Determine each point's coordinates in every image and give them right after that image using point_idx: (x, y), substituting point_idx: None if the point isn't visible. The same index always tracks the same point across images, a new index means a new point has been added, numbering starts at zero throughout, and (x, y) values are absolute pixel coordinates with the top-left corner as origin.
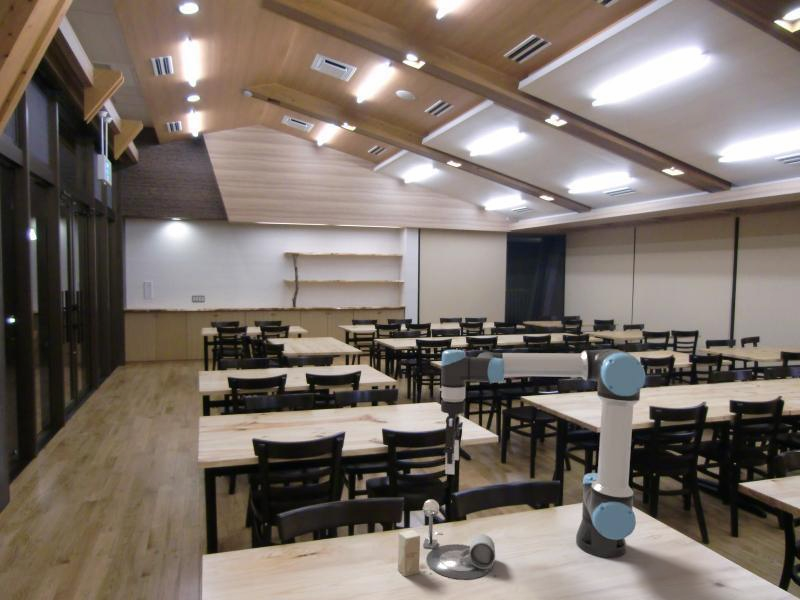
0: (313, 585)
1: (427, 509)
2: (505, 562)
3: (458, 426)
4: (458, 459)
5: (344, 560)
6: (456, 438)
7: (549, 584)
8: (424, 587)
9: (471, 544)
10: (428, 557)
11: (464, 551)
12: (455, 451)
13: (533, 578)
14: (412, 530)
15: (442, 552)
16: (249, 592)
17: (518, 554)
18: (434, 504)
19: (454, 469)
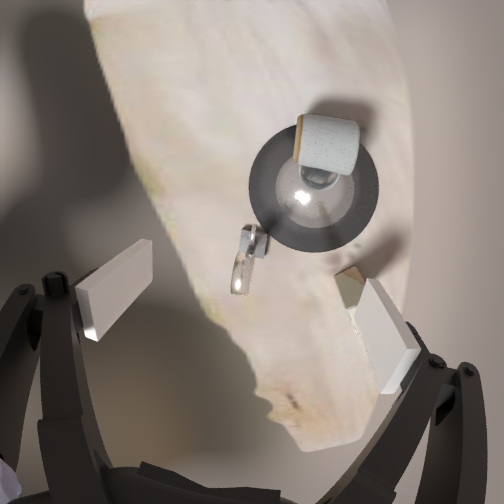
0: (367, 384)
1: (250, 282)
2: (312, 98)
3: (86, 431)
4: (149, 241)
5: (311, 366)
6: (73, 307)
7: (376, 48)
8: (395, 257)
9: (327, 167)
10: (306, 248)
11: (303, 178)
12: (129, 275)
13: (363, 65)
14: (350, 312)
15: (285, 220)
16: (366, 421)
17: (276, 68)
18: (251, 272)
19: (373, 288)
